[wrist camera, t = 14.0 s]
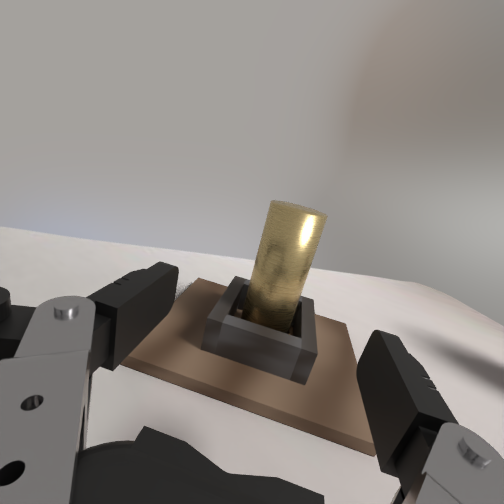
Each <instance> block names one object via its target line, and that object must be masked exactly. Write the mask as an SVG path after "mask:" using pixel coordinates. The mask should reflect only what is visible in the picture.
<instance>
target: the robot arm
mask: <svg viewBox="0 0 504 504" xmlns="http://www.w3.org/2000/svg"><path fill="white" fill-rule="evenodd" d="M178 274H179V269H178V267H176V266H173V265H170V264H167V263H164V262H158V263H156V264H155V265H153V266H151V267H150V268H148V269H141V270H137V271H132V272H130V273H128V274H126V275H125V276H123V277H122V278H119V279H118V280H116V281H114V283H111V284H109V285H107V286H105V287H103V288H102V289H100V290H98V291H96V292H95V293H93V294H91V295H89V296H88V297H86V298H85V297H80V296H64V297H58V298H54V299H50V300H48V301H46V302H44V303H42V304H41V305H39V306H38V307H27V306H18V305H11V300H10V293H9V291H8V290H7V289H5V288H2V287H0V504H324V495H321V494H319V493H316V492H313V491H311V490H308V489H306V488H303V487H301V486H298V485H295V484H293V483H290V482H288V481H285V480H283V479H280V478H277V477H265V476H253V475H240V474H230V473H227V472H225V471H223V470H222V469H220V468H219V467H218V466H217V465H215V464H214V463H213V462H211V461H210V460H209V459H207V458H206V457H205V456H204V455H202V454H201V453H200V452H198V451H197V450H196V449H194V448H193V447H192V446H191V445H189V444H188V443H187V442H185V441H182V440H180V439H177V438H174V437H172V436H169V435H167V434H164V433H162V432H159V431H156V430H154V429H151V428H149V427H146V426H144V427H143V429H142V430H141V432H140V433H139V435H138V436H137V438H136V440H135V441H115V442H109V443H103V444H100V445H96V446H93V447H90V448H87V449H86V441H87V430H88V419H89V409H90V399H91V389H92V378H93V372H95V371H96V370H97V369H98V368H99V367H103V368H106V369H108V370H111V371H114V370H115V368H116V367H117V366H118V365H119V364H120V363H121V362H122V361H123V360H124V359H125V358H126V357H127V356H128V355H129V354H130V353H131V352H132V351H133V350H134V349H135V348H136V347H137V346H138V345H139V344H140V343H141V342H142V341H143V340H144V339H145V337H146V336H147V335H148V334H149V333H150V332H151V331H152V330H153V329H154V328H155V327H156V326H157V325H158V324H159V323H160V322H161V321H162V320H163V319H164V318H165V317H166V316H167V315H168V313H169V312H170V310H171V308H172V306H173V303H174V299H175V293H176V287H177V280H178ZM356 377H357V382H358V386H359V389H360V393H361V397H362V401H363V405H364V409H365V412H366V416H367V420H368V424H369V428H370V431H371V435H372V439H373V443H374V447H375V451H376V454H377V458H378V462H379V466H380V470H381V472H384V473H386V474H389V475H392V476H394V477H397V478H399V481H400V484H401V486H400V488H399V489H398V490H397V492H396V493H395V495H394V497H393V499H392V502H391V504H504V459H503V458H502V457H501V455H500V454H499V453H498V452H497V451H496V450H495V449H494V448H493V447H492V446H491V445H490V444H489V443H487V442H486V441H485V440H484V439H483V438H481V437H480V436H479V435H477V434H476V433H474V432H473V431H471V430H469V429H467V428H465V427H463V426H461V425H459V424H458V422H457V420H456V419H455V417H454V416H453V414H452V412H451V411H450V409H449V408H448V406H447V404H446V403H445V401H444V400H443V398H442V396H441V395H440V393H439V391H437V390H436V387H435V385H434V383H433V382H432V380H430V377H429V375H428V374H427V372H426V371H425V369H424V367H423V366H422V365H421V364H420V363H419V362H418V361H417V360H416V359H415V358H414V357H413V356H412V355H411V354H409V353H408V352H407V350H406V348H405V347H404V345H403V343H402V342H401V340H400V338H399V337H398V336H396V335H393V334H390V333H386V332H383V331H380V330H374V331H373V333H372V334H371V336H370V338H369V340H368V342H367V345H366V347H365V349H364V351H363V353H362V355H361V357H360V359H359V362H358V365H357V370H356Z"/></svg>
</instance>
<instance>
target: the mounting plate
mask: <svg viewBox="0 0 504 504" xmlns="http://www.w3.org/2000/svg"><path fill="white" fill-rule="evenodd" d="M249 283H250V280H247V279H244V278H241V277H238V276H235V277H234V279H233V280H232V282H231V283H230V285H229V286H228V287H227V286H223V285H220V284H217V283H214V282H211V281H207V280H204V279H201V278H198V279H197V280H196V281H195V282H194V283H193V284H192V285H191V286H190V287H188V288H187V289H186V290H185V291H184V292H183V293H182V294H181V295H180V296H179V297H178V298H177V299H176V300H175V301H174V303H173V306H172V308H171V310H170V312H169V313H168V315H167V316H166V317H165V318H164V319H163V320H162V321H161V322H160V323H159V324H158V325H157V326H156V327H155V328H154V329H153V330H152V331H151V332H150V333H149V334H148V335H147V336H146V337H145V339H144V340H143V341H142V342H141V343H140V344H139V345H138V346H137V347H136V348H135V349H134V350H133V351H132V352H131V353H130V354H129V355H128V356H127V357H126V358H125V359H124V360H123V361H122V362H121V363H120V364H121V365H124V366H126V367H129V368H132V369H135V370H137V371H140V372H143V373H146V374H148V375H151V376H154V377H157V378H159V379H162V380H165V381H168V382H170V383H173V384H176V385H179V386H181V387H184V388H187V389H190V390H192V391H195V392H198V393H201V394H203V395H206V396H209V397H212V398H214V399H217V400H220V401H223V402H225V403H228V404H231V405H234V406H236V407H239V408H242V409H245V410H247V411H250V412H253V413H256V414H258V415H261V416H264V417H267V418H269V419H272V420H275V421H278V422H280V423H283V424H286V425H289V426H291V427H294V428H297V429H299V430H302V431H305V432H308V433H310V434H313V435H316V436H319V437H321V438H324V439H327V440H330V441H332V442H335V443H338V444H341V445H343V446H346V447H349V448H352V449H354V450H357V451H360V452H363V453H365V454H368V455H371V456H375V455H376V451H375V447H374V443H373V439H372V435H371V431H370V428H369V424H368V420H367V416H366V412H365V409H364V405H363V401H362V397H361V393H360V389H359V386H358V382H357V377H356V370H357V362H356V358H355V355H354V351H353V348H352V344H351V341H350V337H349V334H348V330H347V327H346V324H345V323H342V322H339V321H335V320H332V319H329V318H326V317H323V316H319V315H316V314H315V312H314V300H313V299H309V298H306V297H303V296H300V299H299V301H298V304H297V307H296V310H295V313H294V316H293V319H292V322H291V325H290V328H289V331H288V334H286V333H283V332H280V331H277V330H274V329H271V328H268V327H265V326H261V325H258V324H255V323H252V322H249V321H246V320H243V319H240V318H241V314H242V310H243V306H244V303H245V299H246V295H247V291H248V287H249Z"/></svg>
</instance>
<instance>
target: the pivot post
mask: <svg viewBox="0 0 504 504" xmlns="http://www.w3.org/2000/svg"><path fill="white" fill-rule="evenodd" d="M326 219H327V215H325V214H324V213H321V212H319V211H316V210H314V209H310V208H307V207H304V206H300V205H297V204H293V203H288V202H283V201H275V200H273V201H271V203H270V207H269V211H268V215H267V219H266V222H265V226H264V230H263V234H262V238H261V241H260V245H259V249H258V253H257V257H256V260H255V264H254V268H253V272H252V276H251V280H250V283H249V287H248V291H247V295H246V299H245V303H244V306H243V310H242V314H241V318H240V319H243V320H246V321H249V322H252V323H255V324H258V325H261V326H265V327H268V328H271V329H274V330H277V331H280V332H283V333H286V334H288V331H289V328H290V325H291V322H292V319H293V316H294V313H295V310H296V307H297V304H298V301H299V299H300V296H301V293H302V290H303V287H304V284H305V281H306V278H307V275H308V272H309V269H310V266H311V263H312V260H313V257H314V254H315V252H316V248H317V246H318V243H319V240H320V237H321V234H322V231H323V228H324V225H325V222H326Z"/></svg>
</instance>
